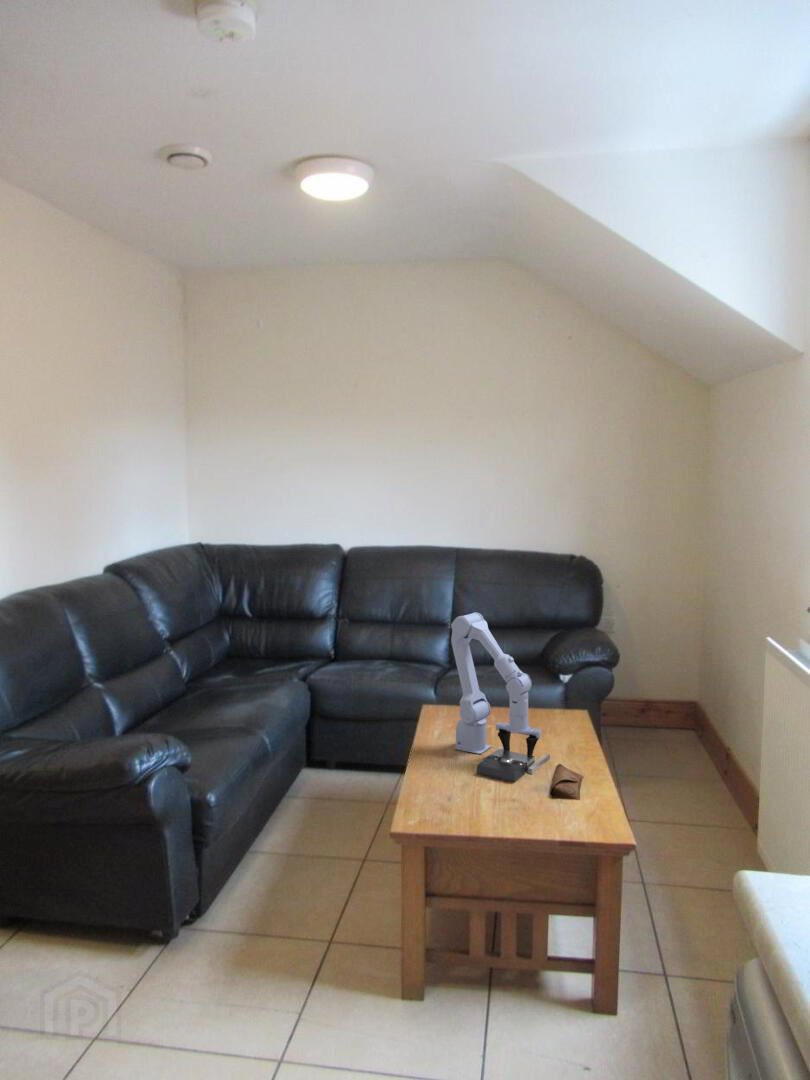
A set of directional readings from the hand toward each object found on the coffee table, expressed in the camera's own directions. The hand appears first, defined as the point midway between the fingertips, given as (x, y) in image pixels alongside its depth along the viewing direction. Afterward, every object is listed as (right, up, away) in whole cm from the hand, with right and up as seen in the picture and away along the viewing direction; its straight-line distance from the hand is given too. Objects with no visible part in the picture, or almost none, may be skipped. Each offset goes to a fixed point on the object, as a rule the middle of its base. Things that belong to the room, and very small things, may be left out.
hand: (518, 756), depth 237 cm
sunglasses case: (+11, -4, -19) cm, 23 cm away
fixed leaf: (-6, -2, -10) cm, 12 cm away
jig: (0, -2, 0) cm, 2 cm away
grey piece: (-3, -2, -5) cm, 6 cm away
